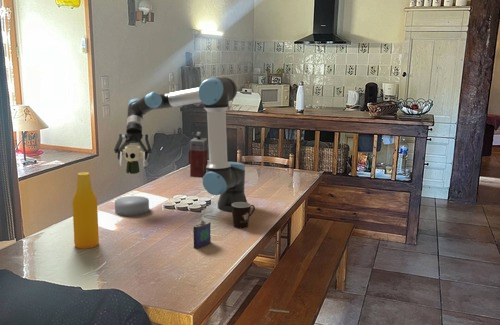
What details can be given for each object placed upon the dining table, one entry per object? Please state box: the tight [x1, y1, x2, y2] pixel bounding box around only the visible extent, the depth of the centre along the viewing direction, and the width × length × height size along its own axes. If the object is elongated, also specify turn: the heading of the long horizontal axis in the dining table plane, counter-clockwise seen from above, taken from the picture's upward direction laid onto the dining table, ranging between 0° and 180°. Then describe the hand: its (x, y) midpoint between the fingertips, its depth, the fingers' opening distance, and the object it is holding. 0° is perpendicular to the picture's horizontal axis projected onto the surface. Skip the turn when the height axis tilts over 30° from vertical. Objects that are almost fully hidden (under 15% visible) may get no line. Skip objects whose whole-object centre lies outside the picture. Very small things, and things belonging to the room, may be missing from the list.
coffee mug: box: [231, 202, 256, 229], centre depth 217 cm, size 12×9×10 cm
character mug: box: [122, 145, 144, 175], centre depth 231 cm, size 11×7×13 cm, turn 74°
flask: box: [192, 219, 212, 249], centre depth 194 cm, size 9×3×11 cm, turn 144°
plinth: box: [114, 195, 150, 217], centre depth 235 cm, size 16×16×5 cm
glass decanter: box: [188, 131, 209, 178], centre depth 306 cm, size 9×11×28 cm
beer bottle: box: [71, 171, 100, 250], centre depth 189 cm, size 9×9×29 cm
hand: (132, 164), depth 228 cm, fingers closed on character mug, 10 cm apart
